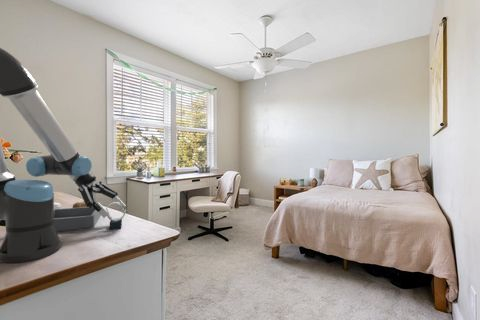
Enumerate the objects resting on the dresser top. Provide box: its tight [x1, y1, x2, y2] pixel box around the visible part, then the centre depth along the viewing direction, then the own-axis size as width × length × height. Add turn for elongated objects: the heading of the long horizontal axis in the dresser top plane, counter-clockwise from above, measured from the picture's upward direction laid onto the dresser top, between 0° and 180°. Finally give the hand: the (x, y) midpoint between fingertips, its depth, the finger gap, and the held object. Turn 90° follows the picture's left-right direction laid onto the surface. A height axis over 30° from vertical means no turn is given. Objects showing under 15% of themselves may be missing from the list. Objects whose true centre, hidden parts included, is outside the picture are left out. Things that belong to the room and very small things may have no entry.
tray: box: [54, 207, 102, 232], centre depth 108 cm, size 20×20×5 cm
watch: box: [105, 201, 127, 231], centre depth 103 cm, size 6×8×11 cm
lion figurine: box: [71, 200, 89, 208], centre depth 124 cm, size 15×5×9 cm, turn 179°
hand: (115, 211), depth 106 cm, fingers open, 13 cm apart
